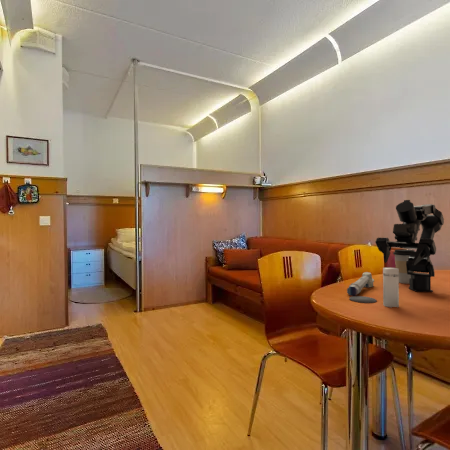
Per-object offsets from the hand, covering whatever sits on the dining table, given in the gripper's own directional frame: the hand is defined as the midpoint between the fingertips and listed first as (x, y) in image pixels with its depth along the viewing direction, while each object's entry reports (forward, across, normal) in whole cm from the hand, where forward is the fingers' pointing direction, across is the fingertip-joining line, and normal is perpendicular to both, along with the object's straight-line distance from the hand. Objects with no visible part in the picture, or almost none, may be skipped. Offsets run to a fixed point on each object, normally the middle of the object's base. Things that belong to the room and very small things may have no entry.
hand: (398, 263), depth 109 cm
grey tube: (+4, -17, +16) cm, 24 cm away
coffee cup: (-18, -10, +37) cm, 43 cm away
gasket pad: (+14, -10, +4) cm, 18 cm away
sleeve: (+15, 0, +4) cm, 16 cm away
